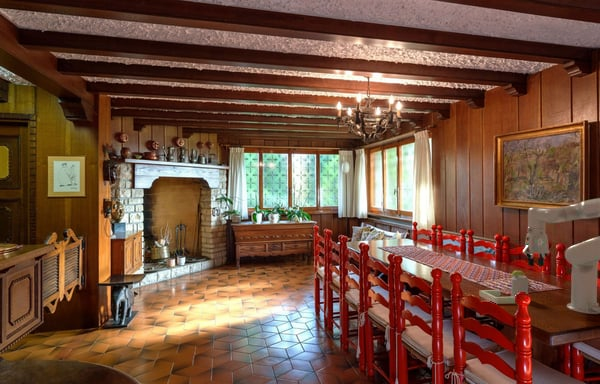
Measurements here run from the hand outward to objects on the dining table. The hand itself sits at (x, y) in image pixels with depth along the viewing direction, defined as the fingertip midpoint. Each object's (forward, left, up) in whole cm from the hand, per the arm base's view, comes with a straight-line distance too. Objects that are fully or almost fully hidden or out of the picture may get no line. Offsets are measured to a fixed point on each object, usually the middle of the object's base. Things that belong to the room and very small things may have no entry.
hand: (535, 265), depth 186 cm
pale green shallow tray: (0, +22, -17) cm, 28 cm away
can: (0, +9, -18) cm, 20 cm away
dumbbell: (+25, -10, -18) cm, 32 cm away
